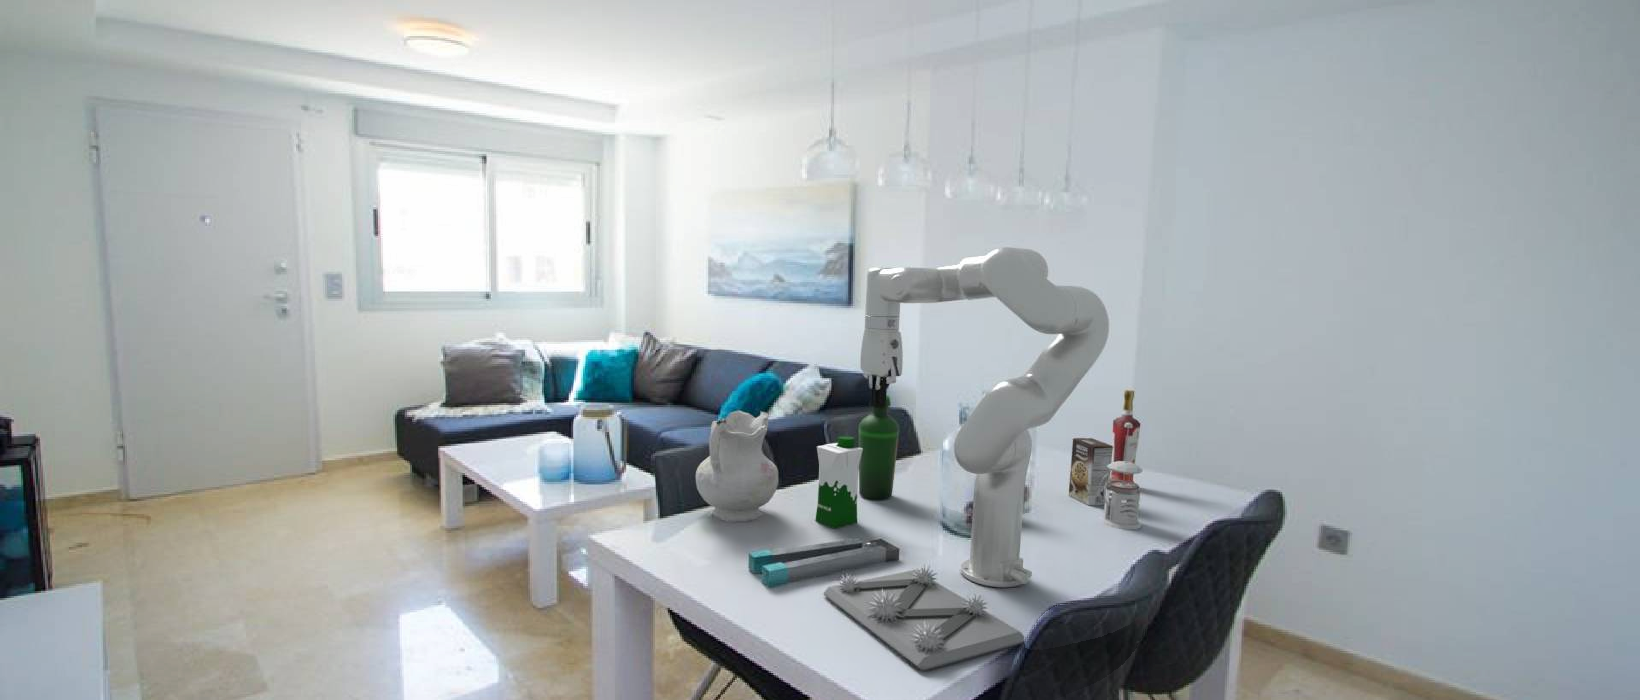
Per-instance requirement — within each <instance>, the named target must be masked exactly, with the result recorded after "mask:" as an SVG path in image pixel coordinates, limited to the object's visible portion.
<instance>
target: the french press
mask: <svg viewBox="0 0 1640 700" xmlns="http://www.w3.org/2000/svg"><path fill="white" fill-rule="evenodd" d="M1124 427H1126V428H1128V431H1129V428H1133V425H1132V424H1131V423H1126V424H1125V425H1124ZM1127 443H1128V432H1127ZM1127 443H1126V454H1127ZM1107 467H1108V469H1110V470H1112V471H1115V472H1119V473H1124V477H1125V473H1127V474H1134V475H1136V474H1141V473H1142V472H1143V469H1142V468H1141V466H1139V465H1137V464H1136V463H1135V464H1133V463H1131V462H1127V461H1126V455H1125V461H1117V462H1113V463H1112V462H1111V464H1109V465H1108V466H1107ZM1107 475H1109V479H1110V478H1112V477H1114V480H1112V479H1110V481H1109V479H1108V481H1109V482H1108V481H1107V482H1108V484H1109V486H1108V487H1107V488H1106V496H1105V487H1106V485H1107V482H1106V484H1105V487H1104V498H1105V501H1103V500H1102V499H1101V495H1100V486H1101V483H1102V481H1103V479H1104V478H1105V476H1107ZM1107 475H1105V476H1104V477H1103V479H1102V480H1101V483H1100V485H1099V496H1100V499H1101V500H1102V501H1103V502H1105V505H1104V506H1103V507H1104V511H1103V515H1102V516H1101V517H1100V518H1099V522H1100V523H1102V524H1103V525H1105V526H1108V527H1111V528H1116V529H1122V530H1137V529H1140V528H1141V527H1142V523H1140V521H1139V519H1138V517H1139V508H1140V501H1141V492H1140V491H1139V490H1138V489H1139V488H1140V486H1139V484H1137V483H1135V482H1134V483H1131V482H1129V481H1128V482H1127V481H1124V478H1123V480H1121V481H1120V480H1115V476H1111V473H1110V474H1107ZM1111 491H1112V492H1111ZM1122 501H1124V502H1122ZM1125 501H1126V502H1125ZM1109 506H1110V507H1109ZM1122 506H1125V507H1122ZM1123 511H1125V512H1123Z"/></svg>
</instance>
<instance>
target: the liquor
mask: <svg viewBox="0 0 1640 700" xmlns="http://www.w3.org/2000/svg"><path fill="white" fill-rule="evenodd" d="M1123 392H1124V393H1123V397H1124V398H1123V399H1124V401H1123V407H1122V411H1121V412H1122V413H1121V416H1119V417H1116V418H1115V419H1113V420H1112V446H1113V452H1112V462H1111V463H1113V462H1117V461H1125V455H1126V461H1127V462H1131V463H1133V464H1135V465H1136V460H1137V459H1136V457H1137V451H1138V444H1139V437H1140V429H1141V422H1140V421H1138V420H1137V419H1136V418H1134V413H1133V412H1134V409H1133V407H1134V406H1133V404H1134V402H1133V401H1134V398H1135V390H1132V389H1125V390H1124V391H1123ZM1126 423H1131V424H1132V425H1133V428H1129V431H1128V428H1126V427H1124V425H1125V424H1126ZM1127 432H1128V443H1127ZM1126 443H1127V454H1126ZM1134 475H1135V474H1127V473H1125V477H1124V473H1119V472H1115V471H1112V470H1111V472H1110V477H1111V476H1115V480H1120V481H1121V480H1123V478H1124V481H1127V482H1128V481H1129V482H1131V483H1135V482H1134ZM1110 479H1112V480H1114V477H1112V478H1110Z"/></svg>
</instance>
